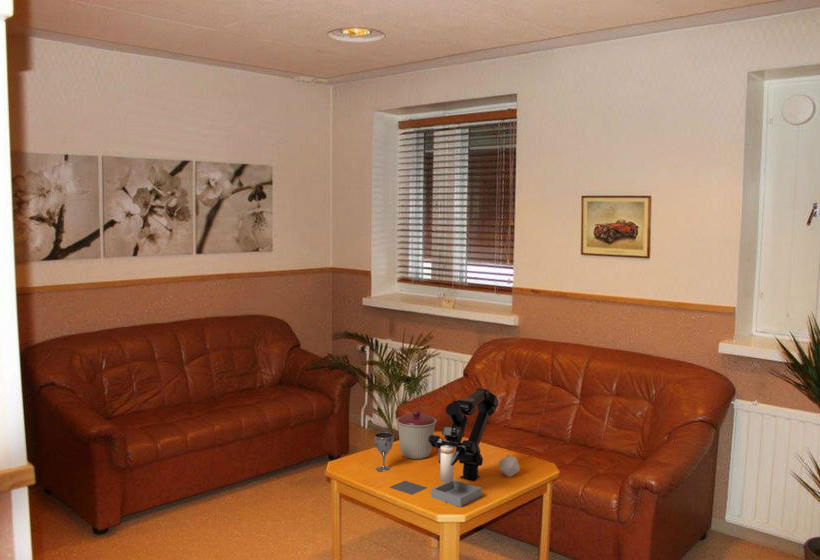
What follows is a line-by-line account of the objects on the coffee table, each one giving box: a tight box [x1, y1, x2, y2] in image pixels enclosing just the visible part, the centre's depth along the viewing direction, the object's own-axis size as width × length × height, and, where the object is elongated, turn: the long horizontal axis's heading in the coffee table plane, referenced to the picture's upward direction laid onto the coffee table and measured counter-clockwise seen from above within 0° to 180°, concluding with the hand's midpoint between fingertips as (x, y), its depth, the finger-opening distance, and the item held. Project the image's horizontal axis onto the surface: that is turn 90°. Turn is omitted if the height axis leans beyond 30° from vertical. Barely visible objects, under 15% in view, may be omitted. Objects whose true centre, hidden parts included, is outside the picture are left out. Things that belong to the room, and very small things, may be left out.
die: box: [498, 454, 521, 477], centre depth 309 cm, size 8×9×10 cm
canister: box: [395, 409, 437, 460], centre depth 331 cm, size 18×18×21 cm
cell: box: [439, 445, 455, 483], centre depth 283 cm, size 5×5×14 cm
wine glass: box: [374, 431, 394, 473], centre depth 313 cm, size 8×8×15 cm
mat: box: [388, 480, 428, 496], centre depth 292 cm, size 10×12×1 cm
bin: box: [430, 479, 483, 508], centre depth 283 cm, size 14×14×4 cm
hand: (445, 463), depth 282 cm, fingers closed on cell, 5 cm apart
